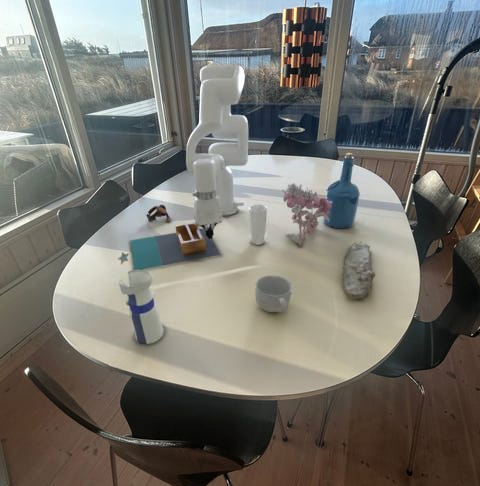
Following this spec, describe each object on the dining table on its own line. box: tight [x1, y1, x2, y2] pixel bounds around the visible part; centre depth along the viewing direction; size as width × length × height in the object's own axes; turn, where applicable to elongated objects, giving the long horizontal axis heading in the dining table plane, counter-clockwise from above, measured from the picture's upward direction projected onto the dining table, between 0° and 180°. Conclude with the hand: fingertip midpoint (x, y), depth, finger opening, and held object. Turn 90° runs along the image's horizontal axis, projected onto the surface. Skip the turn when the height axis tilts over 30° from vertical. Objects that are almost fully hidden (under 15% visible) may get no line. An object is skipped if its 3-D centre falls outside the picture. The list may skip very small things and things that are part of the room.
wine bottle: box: [323, 152, 361, 229], centre depth 136 cm, size 14×13×30 cm
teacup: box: [254, 275, 293, 313], centre depth 95 cm, size 14×11×8 cm
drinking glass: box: [248, 204, 268, 246], centre depth 127 cm, size 7×7×15 cm
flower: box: [281, 182, 332, 247], centre depth 130 cm, size 20×22×25 cm
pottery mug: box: [145, 204, 171, 223], centre depth 149 cm, size 12×10×8 cm
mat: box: [130, 227, 221, 270], centre depth 129 cm, size 32×24×1 cm
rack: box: [174, 221, 207, 256], centre depth 129 cm, size 9×16×6 cm, turn 18°
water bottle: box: [117, 251, 165, 345], centre depth 83 cm, size 8×9×25 cm
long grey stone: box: [342, 241, 376, 300], centre depth 111 cm, size 35×5×10 cm
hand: (209, 237), depth 131 cm, fingers closed
